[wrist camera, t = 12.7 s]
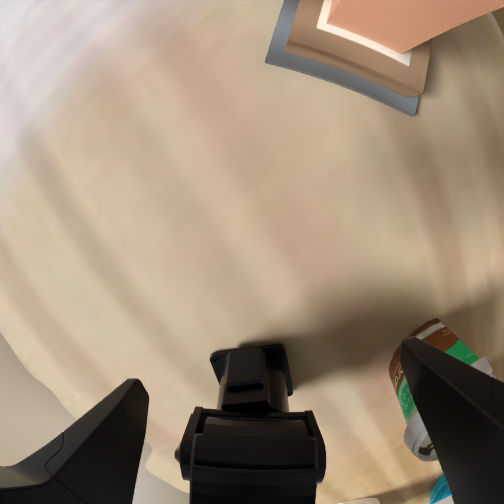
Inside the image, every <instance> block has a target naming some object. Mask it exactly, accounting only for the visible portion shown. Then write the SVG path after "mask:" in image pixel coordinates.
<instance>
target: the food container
mask: <svg viewBox="0 0 504 504" xmlns="http://www.w3.org/2000/svg"><path fill="white" fill-rule="evenodd" d="M412 336H415V337H417V338H419V339H421V340H423V341H425V342H427V343H428V344H430V345H432V346H434V347H436V348H438V349H440V350H442V351H444V352H446V353H448V354H450V355H451V356H453V357H455V358H457V359H459V360H461V361H463V362H465V363H467V364H469V365H471V366H473V367H475V368H476V369H478V370H480V371H482V372H484V373H486V374H488V375H490V377H494V378H496V377H495V375H494V374H493V373H492V371H493V369H492V367H491V365H490V364H489V362H488V360H487V359H486V357H483V358H481V359H479V358H478V357H477V356H476V355H475V354H474V353H473V352H472V351H471V350H470V349H469V348H468V347H467V346H466V345H465V344H464V343H463V342H462V341H461V340H460V339H459V338H458V337H457V336H456V335H455V334H454V333H453V332H452V331H451V330H450V329H448V328H447V327H446V326H445V325H444V324H443V323H442V322H441V321H440V320H439V319H438V318H437V319H434V320H432V321H429V322H427V323H426V324H424V325H423V326H421V327H420V328H418V329H416V330H415V331H414V332H413V333H412V334H411V335H409V336H408V337H412ZM408 337H407V338H408ZM401 346H402V344H401V345H400V346H399V348H398V349H397V350H396V352H395V353H394V355H393V358H392V360H391V362H390V367H389V374H390V378H391V380H392V383H393V386H394V389H395V392H396V394H397V397H398V400H399V403H400V406H401V409H402V412H403V415H404V418H405V421H406V424H407V428H406V430H405V433H404V442H405V444H406V445H407V447H408V448H409V449H410V451H411V452H412V453H413V455H415V456H416V457H418V458H419V459H420V460H422V461H436V460H438V457H437V455H436V452H435V450H434V447H433V445H432V443H431V440H430V438H429V435H428V433H427V431H426V428H425V426H424V424H423V422H422V419H421V417H420V415H419V413H418V410H417V408H416V406H415V404H414V401H413V399H412V396H411V393H410V390H409V387H408V384H407V381H406V378H405V375H404V372H403V369H402V366H401V363H400V353H401Z"/></svg>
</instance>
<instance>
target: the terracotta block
mask: <svg viewBox="0 0 504 504" xmlns="http://www.w3.org/2000/svg"><path fill="white" fill-rule="evenodd" d="M502 7H504V0H332V3H331V7H330V11H329V15H328V18H327V22H326V23H327V24H330V25H332V26H335V27H338V28H341V29H344V30H347V31H349V32H352V33H354V34H357V35H360V36H362V37H364V38H367V39H369V40H372V41H374V42H376V43H378V44H381V45H383V46H385V47H387V48H389V49H391V50H394V51H396V52H398V53H400V54H402V53H404V52H406V51H408V50H410V49H412V48H414V47H415V46H417V45H419V44H421V43H423V42H425V41H427V40H429V39H431V38H433V37H435V36H437V35H439V34H441V33H443V32H446V31H448V30H450V29H452V28H454V27H456V26H459V25H461V24H463V23H465V22H468V21H470V20H472V19H475V18H477V17H479V16H482V15H484V14H487V13H489V12H492V11H494V10H497V9H500V8H502Z"/></svg>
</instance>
